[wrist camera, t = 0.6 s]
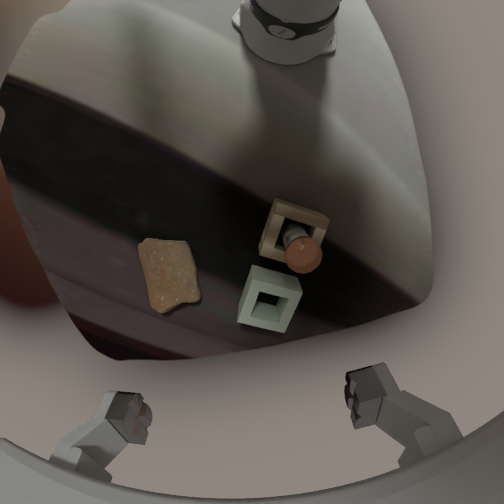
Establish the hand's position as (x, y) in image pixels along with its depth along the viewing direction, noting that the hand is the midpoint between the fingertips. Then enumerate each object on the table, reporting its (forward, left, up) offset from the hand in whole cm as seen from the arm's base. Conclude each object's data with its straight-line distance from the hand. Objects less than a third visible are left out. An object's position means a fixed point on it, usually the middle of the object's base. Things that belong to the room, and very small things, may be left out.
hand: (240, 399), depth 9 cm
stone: (+18, -11, -40) cm, 45 cm away
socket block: (+15, +9, -40) cm, 44 cm away
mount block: (+2, +9, -40) cm, 41 cm away
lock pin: (+2, +9, -40) cm, 41 cm away
